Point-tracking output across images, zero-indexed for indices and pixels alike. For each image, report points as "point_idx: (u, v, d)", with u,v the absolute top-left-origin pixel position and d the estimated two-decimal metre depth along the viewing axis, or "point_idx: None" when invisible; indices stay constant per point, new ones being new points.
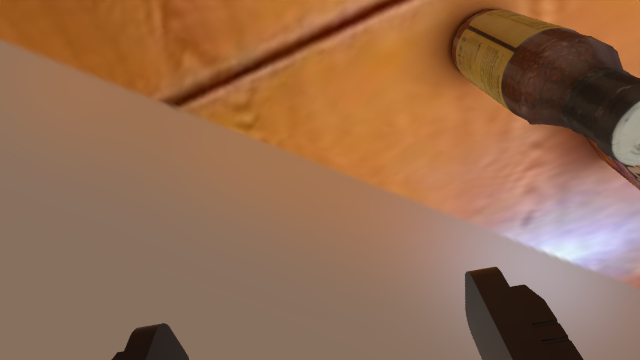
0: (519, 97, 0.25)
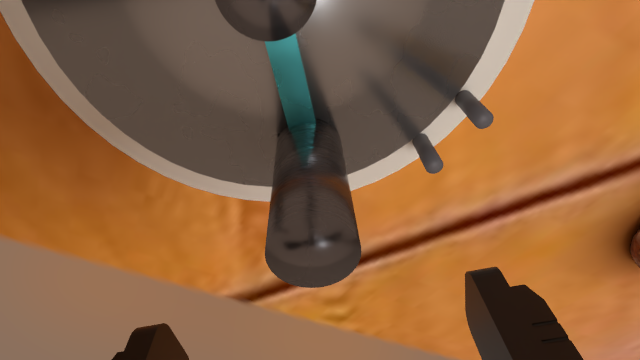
0: None
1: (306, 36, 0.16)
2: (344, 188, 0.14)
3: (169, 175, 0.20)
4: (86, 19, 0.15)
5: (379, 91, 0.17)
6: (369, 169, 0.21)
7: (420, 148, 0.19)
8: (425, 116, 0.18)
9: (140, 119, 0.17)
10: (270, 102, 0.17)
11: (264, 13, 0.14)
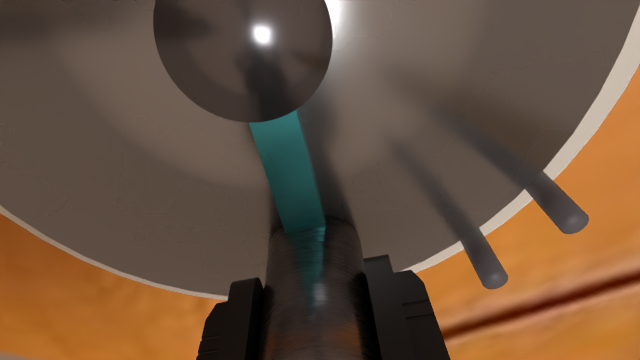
0: None
1: (312, 107, 0.10)
2: None
3: (123, 274, 0.15)
4: None
5: (418, 179, 0.11)
6: None
7: (471, 247, 0.13)
8: (483, 210, 0.12)
9: (69, 219, 0.12)
10: (258, 195, 0.12)
11: (244, 81, 0.09)
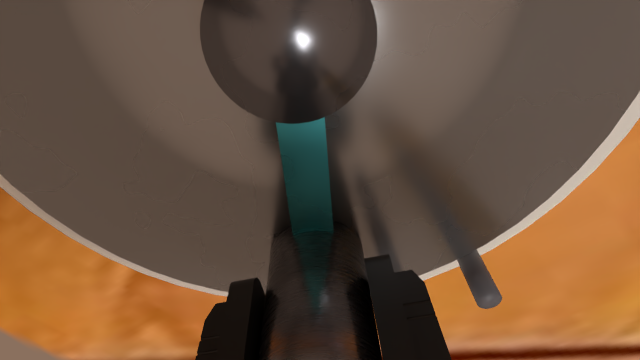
0: None
1: (338, 113, 0.10)
2: None
3: (37, 211, 0.13)
4: None
5: (428, 196, 0.12)
6: None
7: None
8: (484, 232, 0.13)
9: (72, 197, 0.11)
10: (269, 194, 0.12)
11: (282, 82, 0.09)
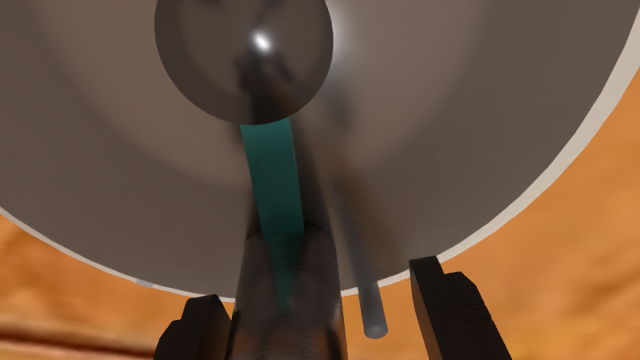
0: None
1: (303, 114, 0.10)
2: None
3: None
4: None
5: (399, 196, 0.12)
6: None
7: None
8: (457, 231, 0.13)
9: (40, 201, 0.11)
10: (239, 196, 0.12)
11: (240, 83, 0.09)
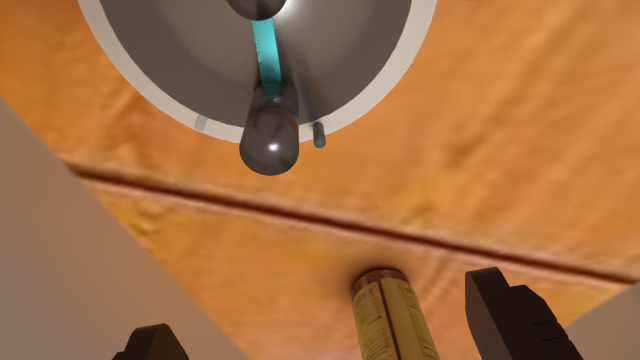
0: None
1: (279, 21, 0.23)
2: (294, 117, 0.22)
3: (98, 39, 0.25)
4: None
5: (326, 65, 0.25)
6: (239, 132, 0.29)
7: None
8: (357, 86, 0.26)
9: (159, 66, 0.24)
10: (251, 64, 0.25)
11: (253, 2, 0.22)
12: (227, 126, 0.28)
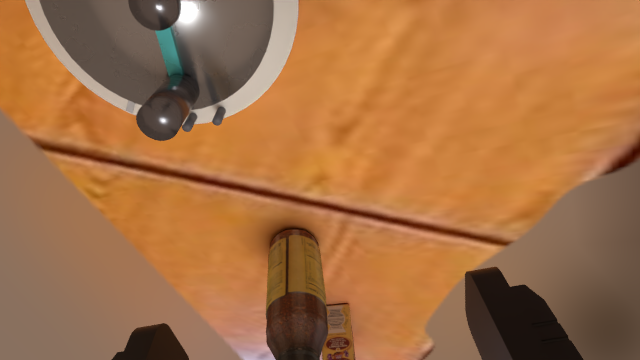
0: (268, 325, 0.37)
1: (177, 31, 0.32)
2: (181, 100, 0.30)
3: (48, 43, 0.34)
4: (69, 9, 0.31)
5: (216, 63, 0.34)
6: None
7: (188, 118, 0.36)
8: (242, 79, 0.34)
9: (92, 63, 0.33)
10: (160, 62, 0.33)
11: (153, 17, 0.30)
12: None
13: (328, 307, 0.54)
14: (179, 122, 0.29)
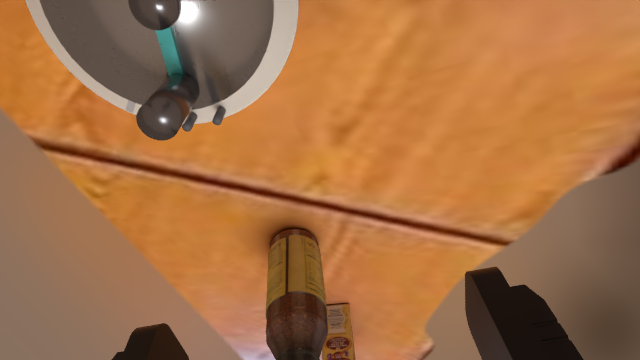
0: (268, 325, 0.37)
1: (177, 30, 0.32)
2: (181, 99, 0.30)
3: (48, 42, 0.34)
4: (69, 9, 0.31)
5: (216, 62, 0.34)
6: None
7: (188, 117, 0.36)
8: (242, 78, 0.34)
9: (92, 62, 0.33)
10: (160, 61, 0.33)
11: (153, 17, 0.30)
12: None
13: (328, 307, 0.54)
14: (179, 122, 0.29)
